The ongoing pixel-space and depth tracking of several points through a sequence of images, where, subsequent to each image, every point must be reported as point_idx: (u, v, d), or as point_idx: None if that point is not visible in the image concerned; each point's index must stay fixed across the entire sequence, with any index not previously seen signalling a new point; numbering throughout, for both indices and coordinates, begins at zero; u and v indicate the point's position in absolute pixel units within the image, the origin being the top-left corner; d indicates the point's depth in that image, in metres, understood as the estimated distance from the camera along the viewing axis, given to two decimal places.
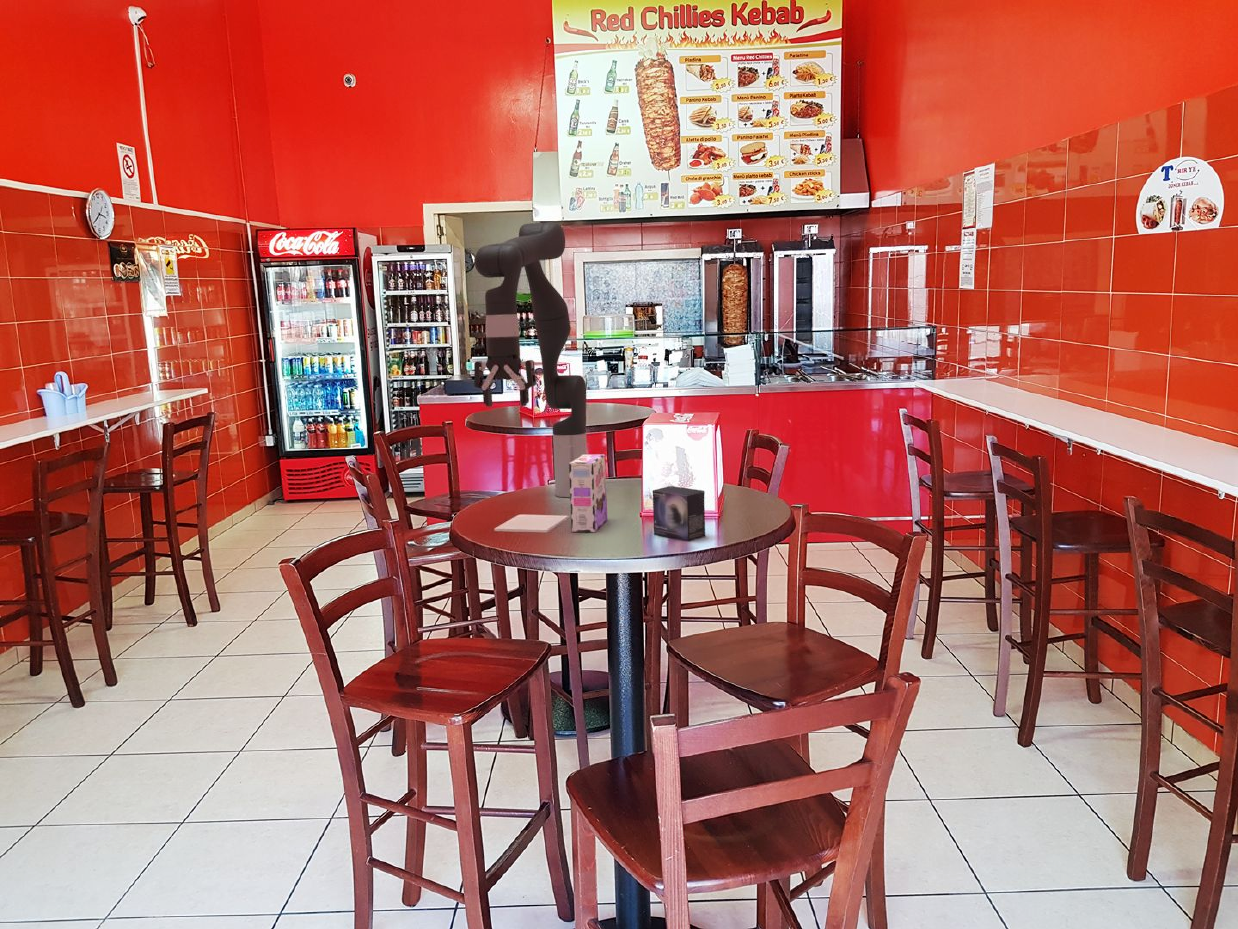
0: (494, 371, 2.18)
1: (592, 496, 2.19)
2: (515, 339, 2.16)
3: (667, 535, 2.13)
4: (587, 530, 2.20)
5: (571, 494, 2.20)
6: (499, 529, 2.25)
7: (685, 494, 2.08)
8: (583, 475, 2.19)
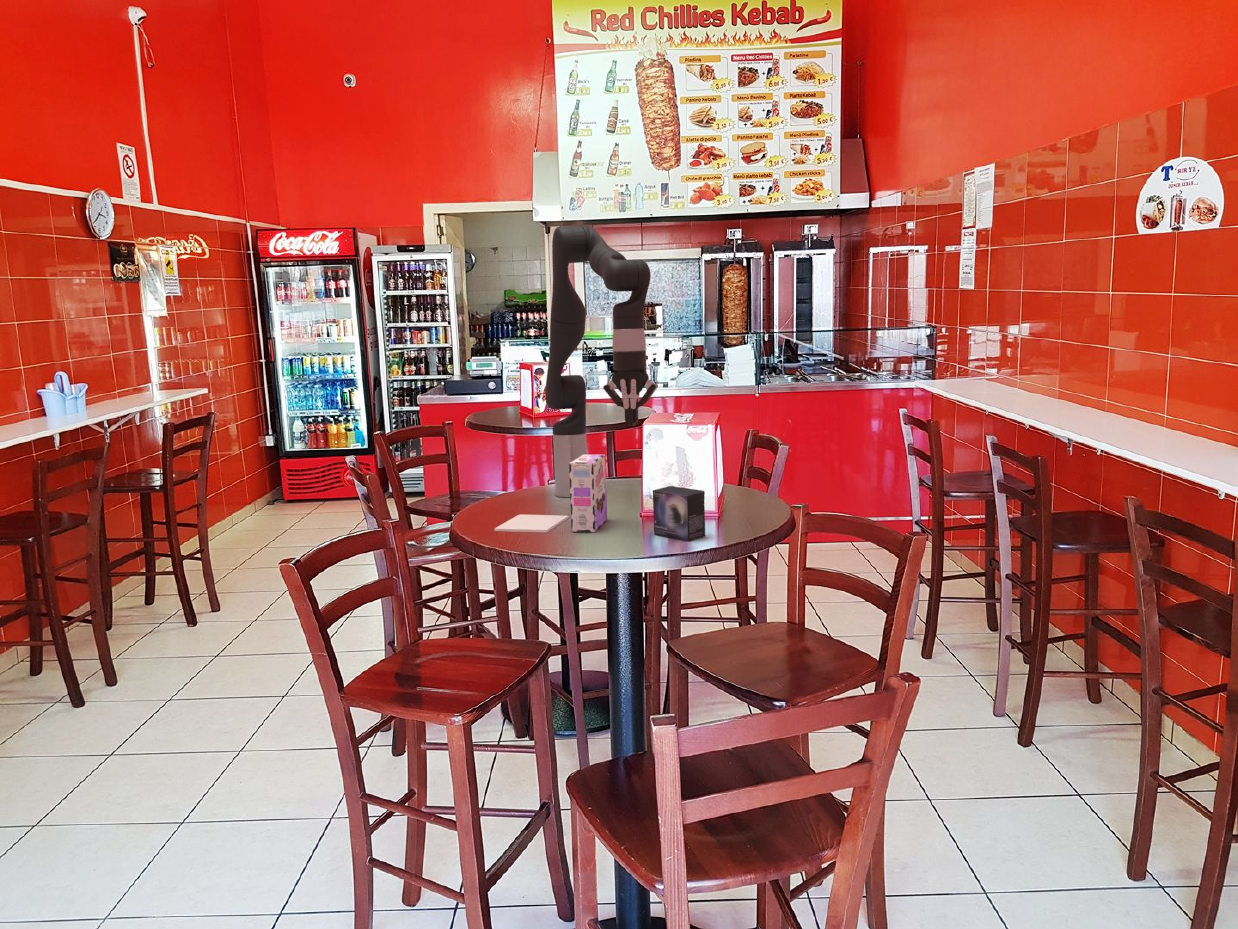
0: (621, 385, 2.18)
1: (592, 496, 2.19)
2: (643, 353, 2.16)
3: (667, 535, 2.13)
4: (587, 530, 2.20)
5: (571, 494, 2.20)
6: (499, 529, 2.25)
7: (685, 494, 2.08)
8: (583, 475, 2.19)
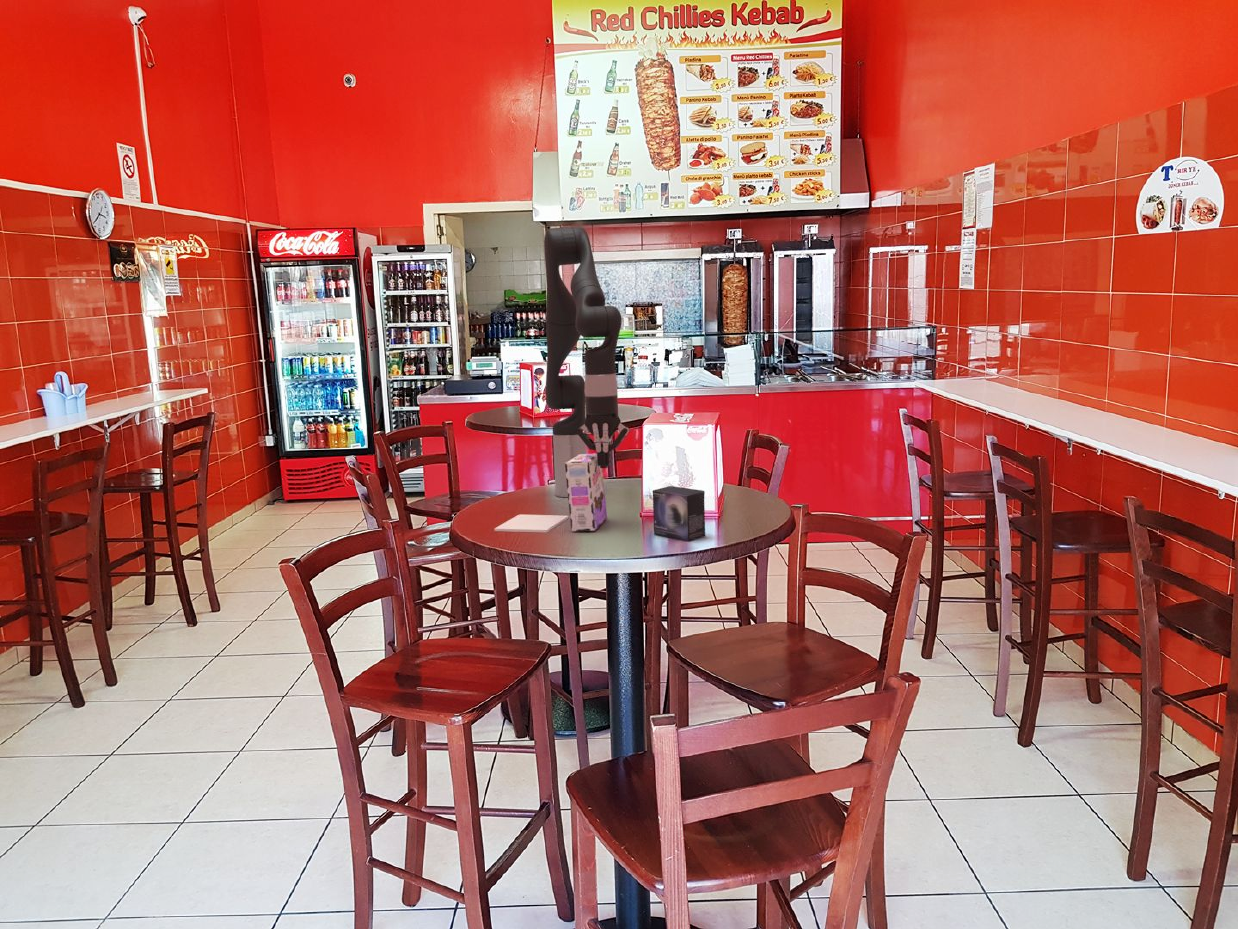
0: (593, 429, 2.21)
1: (590, 495, 2.19)
2: (614, 398, 2.20)
3: (667, 535, 2.13)
4: (587, 529, 2.20)
5: (569, 494, 2.20)
6: (499, 529, 2.25)
7: (685, 494, 2.08)
8: (579, 474, 2.19)
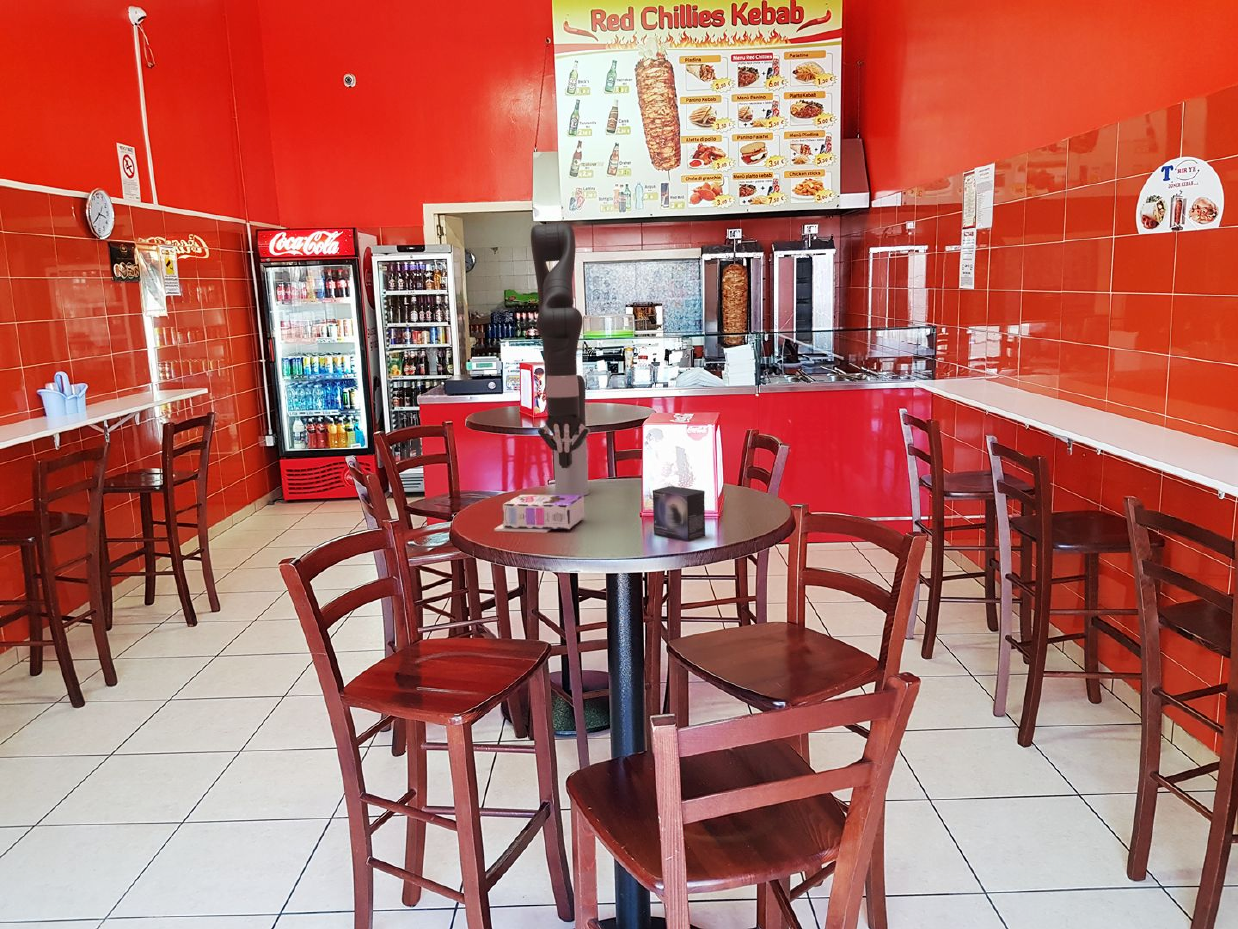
0: (554, 430, 2.24)
1: (534, 506, 2.22)
2: (575, 399, 2.22)
3: (667, 535, 2.13)
4: (567, 513, 2.20)
5: (533, 527, 2.23)
6: (499, 529, 2.25)
7: (685, 494, 2.08)
8: (514, 514, 2.23)
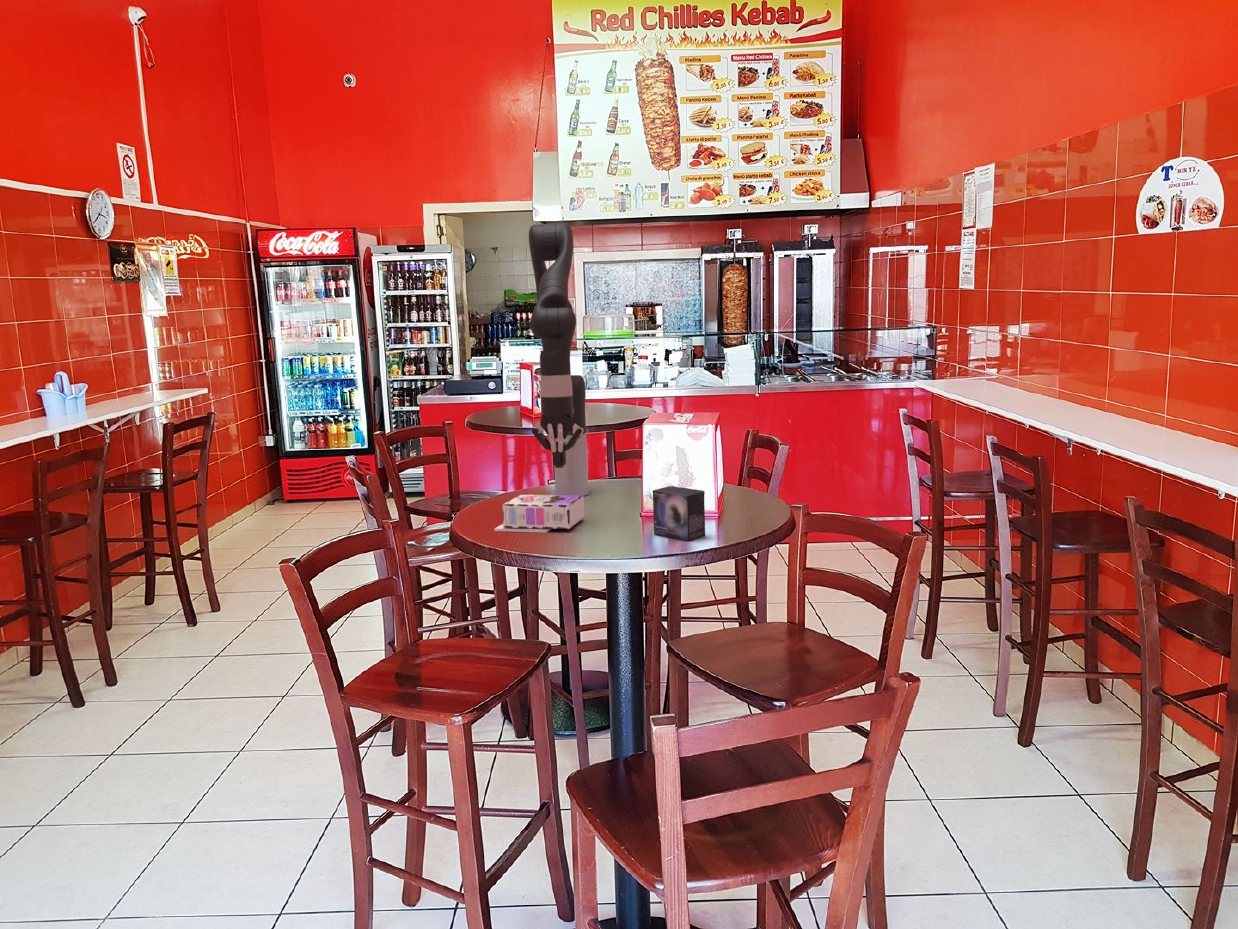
0: (548, 429, 2.24)
1: (534, 506, 2.22)
2: (569, 399, 2.22)
3: (667, 535, 2.13)
4: (567, 512, 2.20)
5: (533, 527, 2.23)
6: (499, 529, 2.25)
7: (685, 494, 2.08)
8: (514, 514, 2.23)
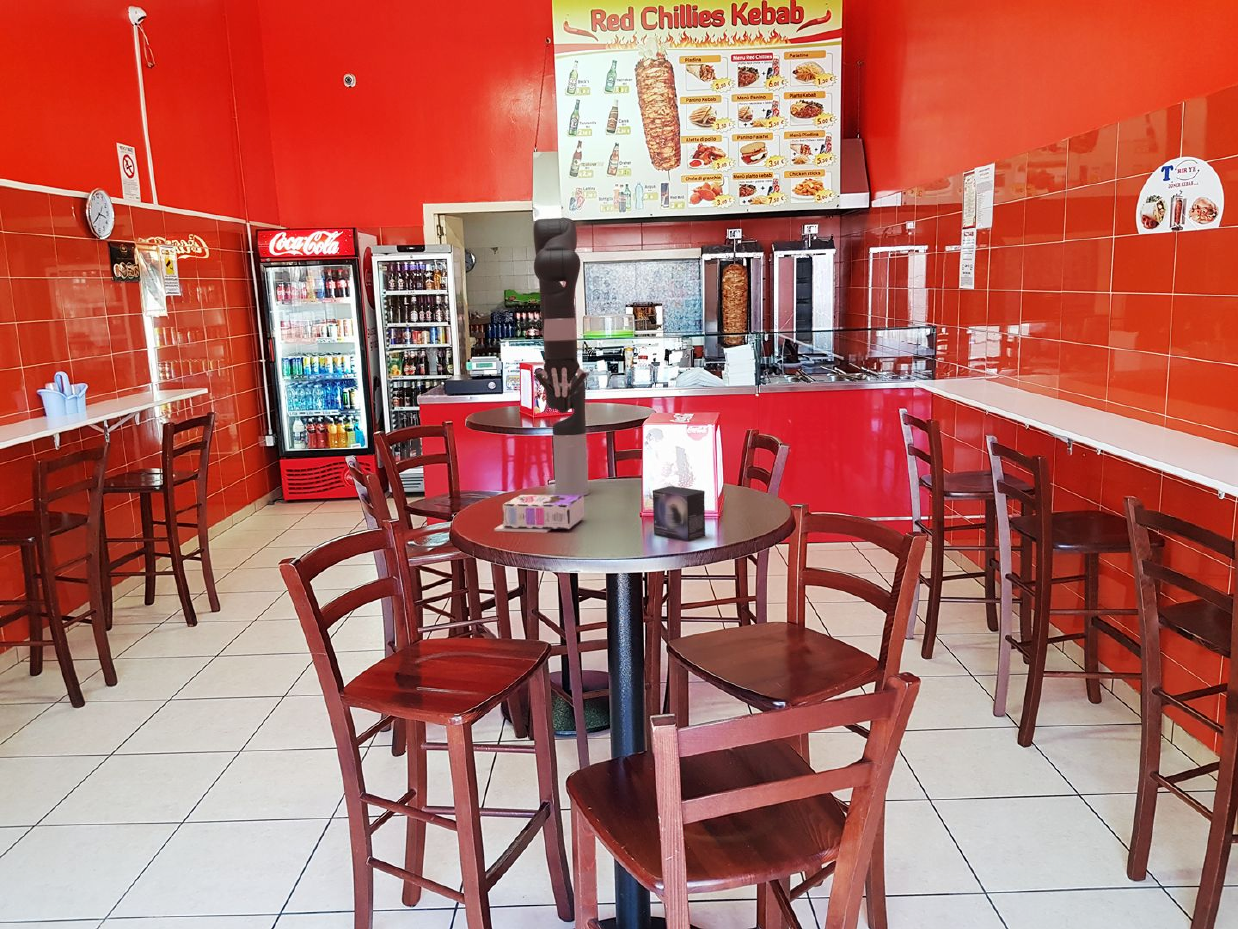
0: (552, 374, 2.22)
1: (534, 506, 2.22)
2: (573, 342, 2.21)
3: (667, 535, 2.13)
4: (567, 512, 2.20)
5: (533, 527, 2.23)
6: (499, 529, 2.25)
7: (685, 494, 2.08)
8: (514, 514, 2.23)
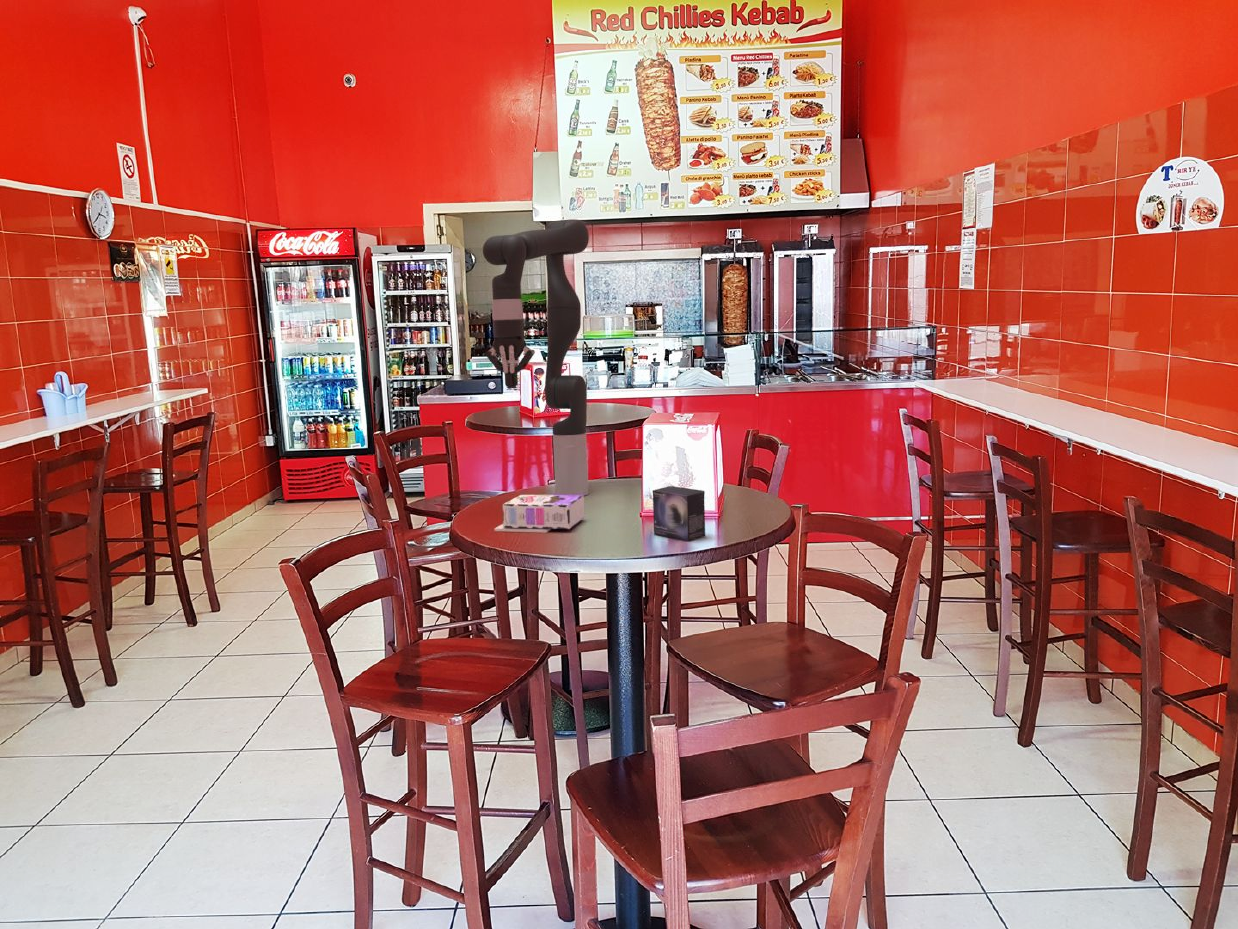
0: (500, 351, 2.37)
1: (534, 506, 2.22)
2: (519, 322, 2.35)
3: (667, 535, 2.13)
4: (567, 512, 2.20)
5: (533, 527, 2.23)
6: (499, 529, 2.25)
7: (685, 494, 2.08)
8: (514, 514, 2.23)
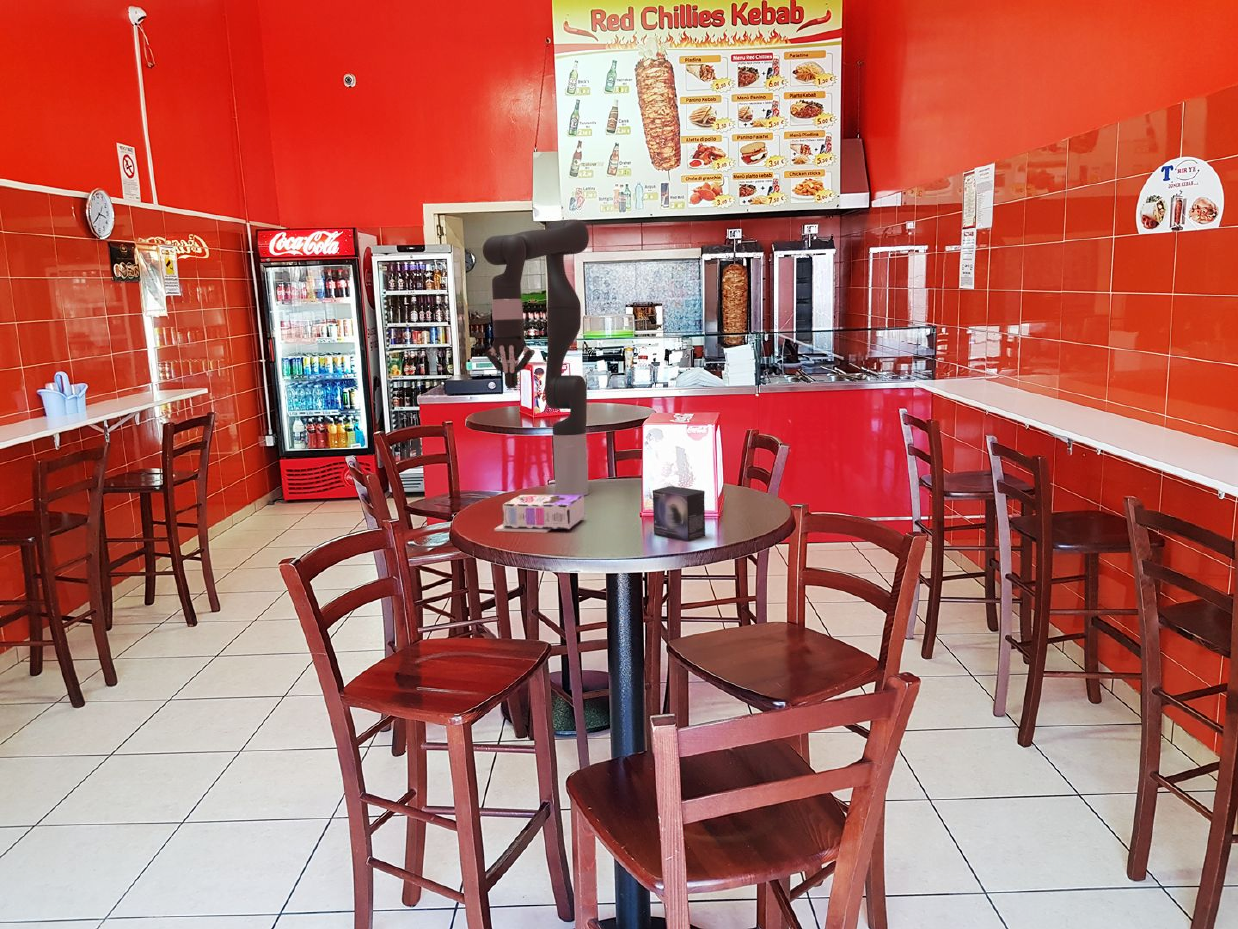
0: (500, 351, 2.37)
1: (534, 506, 2.22)
2: (519, 321, 2.35)
3: (667, 535, 2.13)
4: (567, 512, 2.20)
5: (533, 527, 2.23)
6: (499, 529, 2.25)
7: (685, 494, 2.08)
8: (514, 514, 2.23)
